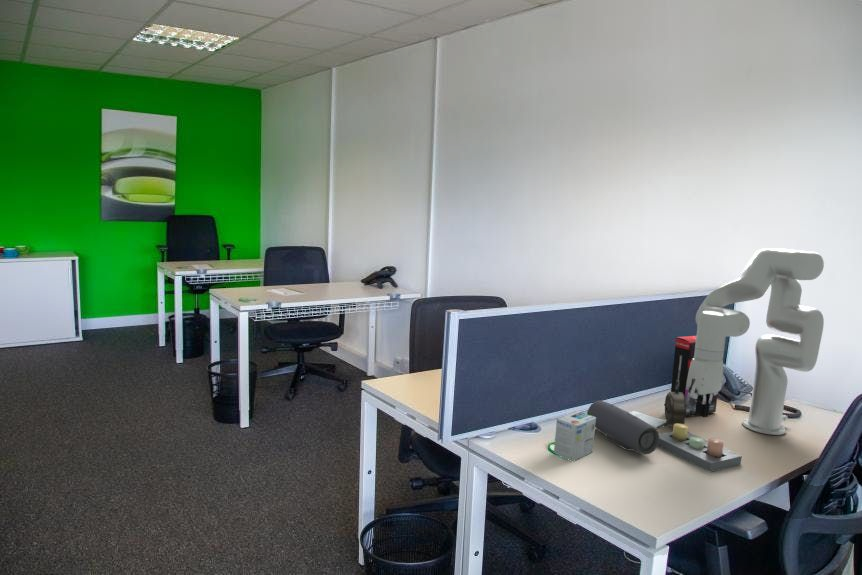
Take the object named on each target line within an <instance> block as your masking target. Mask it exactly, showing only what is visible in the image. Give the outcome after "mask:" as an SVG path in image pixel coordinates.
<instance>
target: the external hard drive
mask: <svg viewBox="0 0 862 575" xmlns="http://www.w3.org/2000/svg"><path fill="white" fill-rule="evenodd" d="M628 413H630V414H632V415H634V416H636V417H638V418H639V419H641V420H643V421H645V422H646V423H648V424H650V425H651V426H653V427H654V428H655V429H656V430H657V431H658V430H659V429H661V428H663V426H664V427H666V426H667V425H666V423H667V422H666V420H665V419H662V418H657V417H655V416H651V415H648V414H645V413H641V412H639V411H636V410H633V411H629V412H628ZM665 425H666V426H665Z"/></svg>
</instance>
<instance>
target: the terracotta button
mask: <svg viewBox="0 0 862 575" xmlns="http://www.w3.org/2000/svg"><path fill="white" fill-rule="evenodd" d="M707 441H708V445H707V453H706V454H708V455H710V456H712V457H715V458H720V457H722V452H723V448H724V446H725V445H724V441H723V440H721V439H717V438H708V439H707Z"/></svg>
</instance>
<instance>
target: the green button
mask: <svg viewBox="0 0 862 575" xmlns="http://www.w3.org/2000/svg"><path fill="white" fill-rule="evenodd" d="M701 438H702V437H700V438H697V437H690V440H689V446H691V447H693V448H695V449H697V450H699V449H704V442H705V441H704V440H703V439H704V438H702V439H701Z"/></svg>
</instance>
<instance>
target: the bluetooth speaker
mask: <svg viewBox="0 0 862 575" xmlns="http://www.w3.org/2000/svg"><path fill="white" fill-rule="evenodd" d="M586 414H588V415H591V416H594V417H596V423H595V429H597V430H598V431H600V432H601V433H603V434H604V435H605V437H606V439H608V440H609V441H611V442H612V443H614V444H616V445H617V446H619V447H621V448H623V449H624V448H625V449H624V450H627V451H634V452H636V453H638V454H641V455H649V454H650V455H651V454H652V453H653V452H655V451H656V449H657V448H658V447H659V446H658V444H659V440H660V439H659V431H658V429H657V430H656V429H655V428H654V427H653V426H651V425H650V424H648V423H646V422H645V421H643V420H641V419H639V418H638V417H636V416H634V415H632V414H630V413H629V412H628V411H626V410H625V409H622V408H620V407H618V406H616V405H614V404H611V403H609V402H607V401H604V400H600V399H599V400H596V401H593V402H592V403H591V404H590V405H589V407H588V410H587V412H586Z"/></svg>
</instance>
